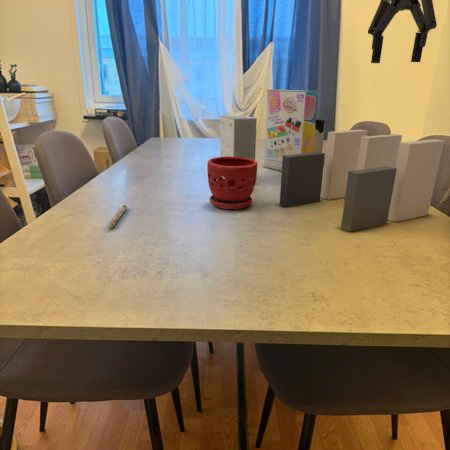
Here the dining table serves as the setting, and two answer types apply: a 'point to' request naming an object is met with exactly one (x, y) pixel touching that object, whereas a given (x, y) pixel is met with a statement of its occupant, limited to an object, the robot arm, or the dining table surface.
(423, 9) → the robot arm
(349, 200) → the grey books
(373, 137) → the white book
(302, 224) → the dining table surface
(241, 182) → the flower pot
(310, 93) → the game box
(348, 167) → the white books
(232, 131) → the hard drive box
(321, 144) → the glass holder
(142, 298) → the dining table surface
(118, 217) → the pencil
